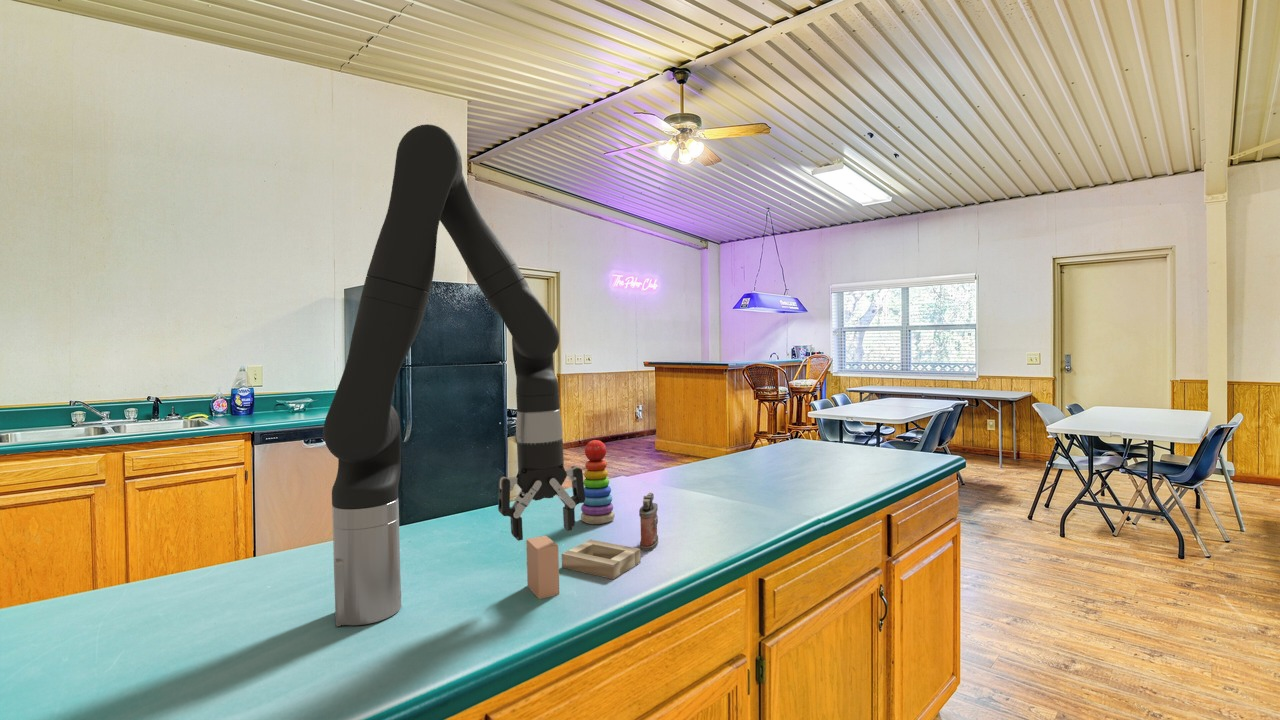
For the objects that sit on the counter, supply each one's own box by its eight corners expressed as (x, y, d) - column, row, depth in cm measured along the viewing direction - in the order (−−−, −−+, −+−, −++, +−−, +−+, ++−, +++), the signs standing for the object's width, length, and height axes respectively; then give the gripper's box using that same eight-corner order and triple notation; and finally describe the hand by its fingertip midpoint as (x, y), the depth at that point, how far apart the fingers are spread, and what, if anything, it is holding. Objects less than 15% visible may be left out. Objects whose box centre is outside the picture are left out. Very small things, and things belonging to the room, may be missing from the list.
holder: (613, 579, 100) (613, 564, 100) (561, 567, 106) (561, 553, 106) (640, 562, 108) (640, 549, 107) (590, 552, 114) (590, 539, 113)
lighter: (654, 551, 113) (652, 501, 113) (637, 550, 114) (636, 500, 113) (660, 538, 121) (659, 491, 121) (644, 537, 122) (643, 490, 121)
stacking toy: (621, 518, 136) (619, 439, 136) (601, 527, 129) (599, 444, 129) (594, 513, 140) (592, 437, 140) (573, 522, 134) (571, 441, 133)
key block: (538, 599, 93) (537, 549, 92) (527, 585, 98) (526, 539, 98) (559, 594, 94) (558, 545, 94) (547, 581, 100) (546, 535, 99)
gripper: (503, 445, 89) (508, 549, 89) (588, 435, 96) (592, 532, 96) (491, 439, 95) (495, 536, 96) (571, 430, 102) (575, 521, 103)
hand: (544, 534), depth 96 cm, fingers open, 8 cm apart
